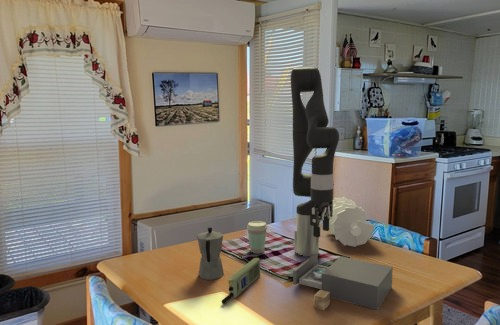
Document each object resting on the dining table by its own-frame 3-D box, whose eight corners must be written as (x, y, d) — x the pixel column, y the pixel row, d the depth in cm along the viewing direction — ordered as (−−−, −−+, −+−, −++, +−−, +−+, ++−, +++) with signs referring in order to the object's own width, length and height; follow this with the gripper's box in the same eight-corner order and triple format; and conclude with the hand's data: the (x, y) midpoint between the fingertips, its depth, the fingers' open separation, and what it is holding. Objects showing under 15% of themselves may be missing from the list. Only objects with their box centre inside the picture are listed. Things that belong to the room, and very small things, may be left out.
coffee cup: (271, 249, 174) (270, 222, 172) (260, 256, 167) (260, 227, 165) (254, 246, 178) (253, 219, 177) (243, 252, 171) (242, 224, 169)
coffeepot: (200, 267, 156) (199, 222, 153) (225, 267, 156) (224, 222, 153) (195, 285, 141) (193, 235, 138) (222, 285, 141) (220, 235, 138)
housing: (321, 295, 133) (321, 273, 132) (340, 276, 147) (341, 256, 146) (376, 309, 123) (377, 286, 122) (391, 288, 137) (392, 266, 136)
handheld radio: (261, 276, 148) (228, 307, 126) (253, 274, 150) (219, 305, 128) (261, 258, 148) (226, 286, 125) (252, 257, 149) (217, 285, 127)
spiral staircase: (344, 258, 174) (329, 236, 198) (382, 240, 173) (362, 220, 198) (327, 222, 170) (314, 204, 194) (366, 203, 169) (347, 187, 194)
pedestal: (314, 307, 125) (314, 295, 124) (320, 301, 128) (320, 289, 128) (323, 310, 123) (324, 297, 122) (329, 304, 127) (329, 292, 126)
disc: (324, 282, 137) (324, 276, 137) (308, 277, 141) (308, 272, 140) (332, 275, 142) (332, 270, 142) (316, 271, 146) (316, 266, 145)
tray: (291, 283, 138) (291, 269, 137) (313, 266, 153) (313, 253, 152) (342, 297, 128) (342, 282, 127) (360, 277, 143) (361, 263, 142)
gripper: (323, 192, 129) (323, 241, 131) (340, 183, 141) (339, 229, 143) (302, 189, 133) (302, 237, 135) (320, 181, 145) (319, 226, 147)
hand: (321, 233), depth 139 cm, fingers open, 7 cm apart
